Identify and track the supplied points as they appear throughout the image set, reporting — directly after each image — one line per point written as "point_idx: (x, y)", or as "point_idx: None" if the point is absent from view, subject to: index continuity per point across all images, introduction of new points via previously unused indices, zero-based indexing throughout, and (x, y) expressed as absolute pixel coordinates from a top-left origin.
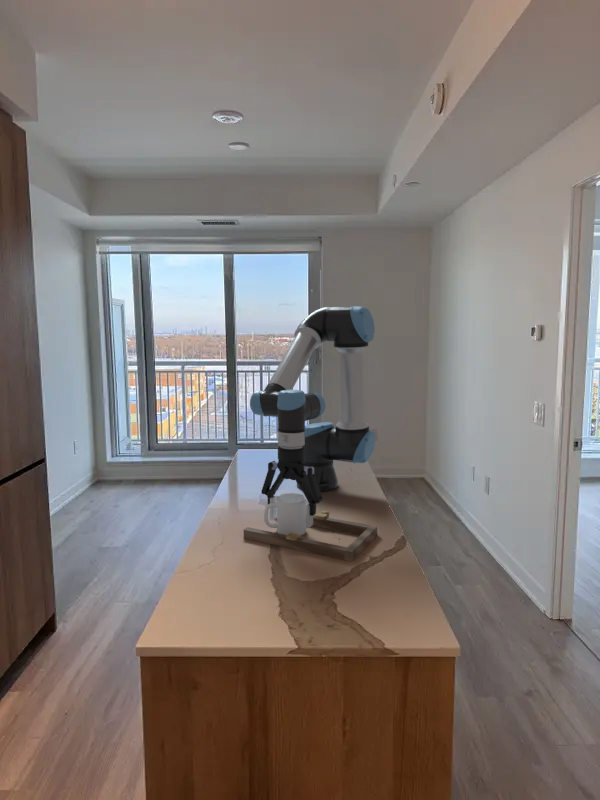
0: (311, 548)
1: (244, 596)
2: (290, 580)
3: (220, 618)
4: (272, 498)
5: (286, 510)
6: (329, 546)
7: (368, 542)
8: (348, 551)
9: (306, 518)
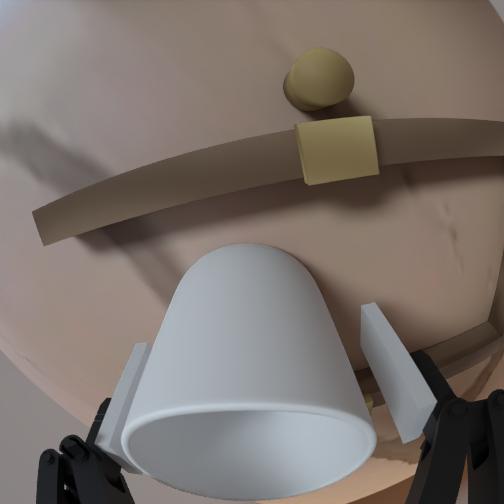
0: None
1: (353, 479)
2: (399, 441)
3: (352, 492)
4: (140, 472)
5: (280, 456)
6: (464, 367)
7: None
8: (502, 348)
9: (376, 378)
